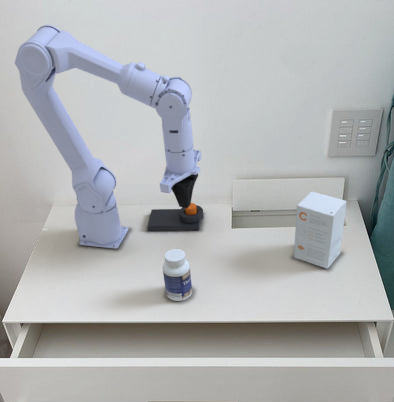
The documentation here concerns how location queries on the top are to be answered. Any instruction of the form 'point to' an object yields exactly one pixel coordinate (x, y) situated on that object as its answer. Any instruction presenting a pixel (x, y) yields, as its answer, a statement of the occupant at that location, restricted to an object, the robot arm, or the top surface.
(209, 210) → the top surface
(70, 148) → the robot arm
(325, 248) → the small box
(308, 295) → the top surface
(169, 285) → the pill bottle
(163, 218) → the scale
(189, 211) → the button
